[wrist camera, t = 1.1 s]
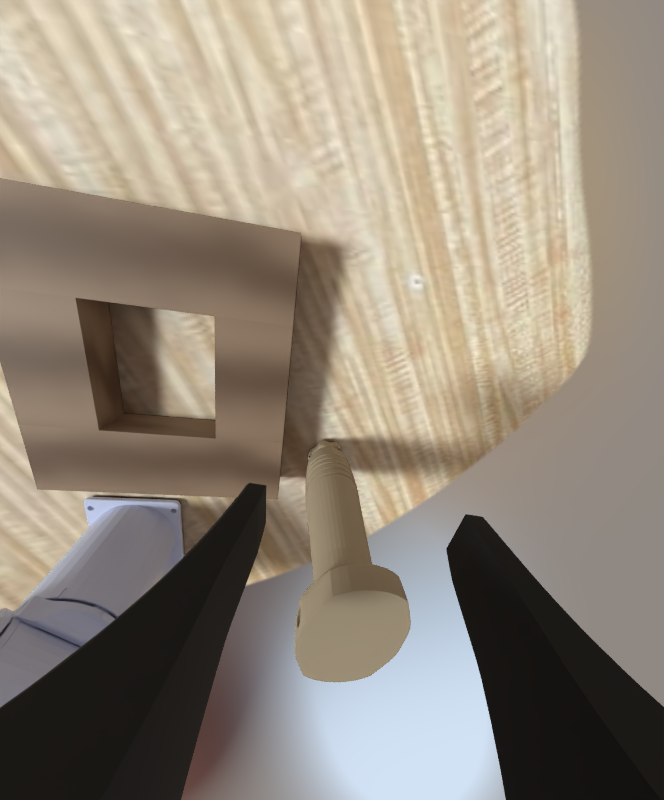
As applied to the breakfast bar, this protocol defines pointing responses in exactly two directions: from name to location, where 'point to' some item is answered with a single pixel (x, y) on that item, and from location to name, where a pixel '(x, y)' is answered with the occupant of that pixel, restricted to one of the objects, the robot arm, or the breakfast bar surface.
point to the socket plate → (95, 352)
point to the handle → (344, 582)
